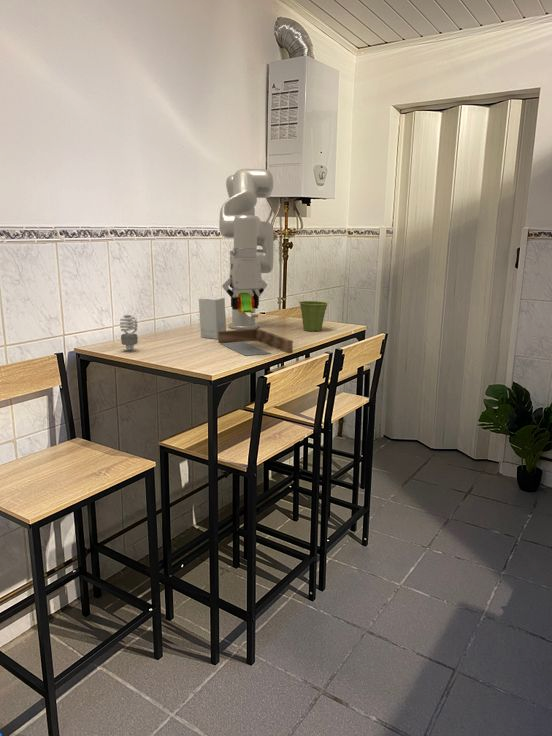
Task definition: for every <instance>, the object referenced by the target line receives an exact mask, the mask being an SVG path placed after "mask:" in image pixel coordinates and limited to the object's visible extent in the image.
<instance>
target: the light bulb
mask: <svg viewBox="0 0 552 736" xmlns="http://www.w3.org/2000/svg"><path fill="white" fill-rule="evenodd" d="M119 321H120V322H119V325H120V326H119V328H121V329H120V331H121V332H124V333H123V334H121V335H120V341H121V345H124V346H125V349H126V350H127V351H129V352H131V351H132V350H133V349H135V346H136V345H137V344H138V342H139V341H138V340H139V339H138V338H139V337H138V334H137V333H136V332H137V331H138V327H139V326H138V319H137V317H135V316H133V315H132V314H123V318H120V319H119ZM128 331H132V332H131V333H129V332H128Z"/></svg>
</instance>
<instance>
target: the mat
mask: <svg viewBox="0 0 552 736" xmlns="http://www.w3.org/2000/svg"><path fill="white" fill-rule="evenodd" d="M220 345H222V346H224V347H226V348H227V349H230V350H232V351H234V352H236V353H238V354H241V355H243V356H244V357H250V356H251V357H252V356H260V355H261V356H262V355H270V354H272V353H271V352H269V351H266V350H264V349H262V348H260V347H257V346H255V345H253V344H251V343H247V341H242V342H230V343H220Z"/></svg>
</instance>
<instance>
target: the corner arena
mask: <svg viewBox="0 0 552 736" xmlns="http://www.w3.org/2000/svg"><path fill="white" fill-rule="evenodd" d="M217 340H218V343H219V344H224V343H236V342H252V341H253V342H254V341H256V342H260V343H262V344H265V345H267V346H268V347H272V348H274V349H278V350H279V349H280V350H279V351H282V352H284V353H287V354H293V348H294V347H293V344H294V343H293V340H291V339H288V338H286V337H283V336H281V335H280V336H279V335H277V334H275V333H271V332H269V331H266V330H264V329H263V330H262V329H260V328H255V329H233V330H232V329H231V330H226V331H218V339H217Z"/></svg>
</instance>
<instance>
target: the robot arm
mask: <svg viewBox="0 0 552 736" xmlns="http://www.w3.org/2000/svg"><path fill="white" fill-rule="evenodd" d="M225 185H226V190H227V191H226V192H227V195H228V199H227V200H226V201H225V202H224V203H223V204H222V205H221V208H220V210H219V211H220V212H219V221H218V222H219V223H218V225H219V233H220V235H221V236H222V237H224V238H227V239H233V248H232V250H230V251H229V254H230V255H229V266H230V268H229V276H228V277H229V278H228V279H227V280H225V282H224V283H223V284H222V285H221V287H222V288H223V290H224V291H225V292H226V293H227V295H228V296H229V297H230V307H231V322H230V323H228V328H229V329H233V330H246V329H259V327H260V324H259V323H257V322H256V317H254V318H251V317H249V316H247V314H241V313H240V312H238V310H237V309H238V298H236V297H237V295H238V294H240V293H249V294H250V295H251V297H253V298H254V302H255V304H254V308H253V313H256V309H259V305H260V296H261V295H262V294H263V292H264V290H266V289H267V287H268V283H267V282H266V281H265V280H264V279H262V274H269V273H272V271H273V270H274V252H275V251H274V248H275V247H274V245H275V244H274V243H275V242H274V237H275V235H274V227H273V225H272V224H271V222H269V221H262V220H261V219H260V217H258V215H256V213H255V212H256V209H255V207H256V205H257V203H258V202H257V201H258V199H259V198H260V199H267V198H269V197H270V196H272V193H273V189H274V178H273V174H272V173H271V171H270V170H268V169H264V168H263V169H262V168H241V169H239V170H237V171H236V172H235V173H234V174H231V175H229V176H228V177H227V178H226V182H225ZM259 246H260V247H261V248H262V249H261V248H260V249H258V247H259Z"/></svg>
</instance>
